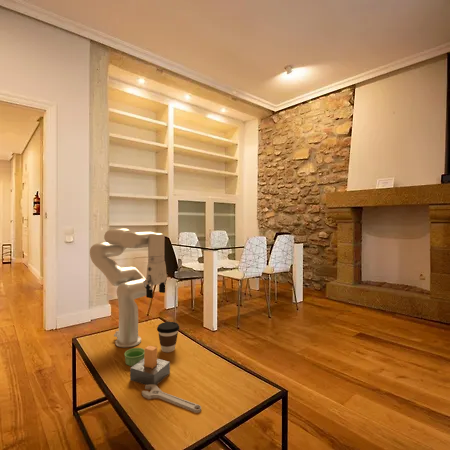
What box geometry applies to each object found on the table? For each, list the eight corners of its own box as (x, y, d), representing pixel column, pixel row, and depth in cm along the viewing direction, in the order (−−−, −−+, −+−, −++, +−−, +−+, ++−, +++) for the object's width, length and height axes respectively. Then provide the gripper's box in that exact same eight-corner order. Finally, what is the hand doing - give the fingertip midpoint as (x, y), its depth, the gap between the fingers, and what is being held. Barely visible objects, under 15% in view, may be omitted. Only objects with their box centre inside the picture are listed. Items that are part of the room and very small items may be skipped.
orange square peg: (152, 379, 115) (152, 350, 115) (144, 377, 117) (144, 348, 116) (156, 376, 118) (157, 347, 118) (149, 373, 120) (149, 345, 119)
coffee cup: (171, 342, 149) (171, 319, 149) (183, 349, 141) (184, 325, 141) (152, 349, 141) (152, 325, 141) (164, 357, 134) (165, 331, 133)
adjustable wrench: (202, 410, 99) (203, 405, 98) (191, 422, 93) (191, 416, 93) (150, 386, 111) (150, 382, 111) (137, 395, 106) (137, 390, 106)
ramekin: (135, 355, 136) (136, 345, 135) (149, 360, 131) (149, 351, 131) (119, 363, 128) (120, 353, 128) (133, 369, 123) (133, 359, 123)
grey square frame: (130, 380, 115) (130, 367, 115) (147, 367, 125) (147, 356, 124) (154, 387, 110) (154, 374, 110) (169, 373, 120) (169, 361, 120)
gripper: (151, 262, 126) (151, 301, 127) (173, 257, 142) (172, 291, 142) (137, 261, 129) (137, 298, 129) (160, 256, 145) (160, 289, 145)
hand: (156, 295), depth 136 cm, fingers open, 9 cm apart
